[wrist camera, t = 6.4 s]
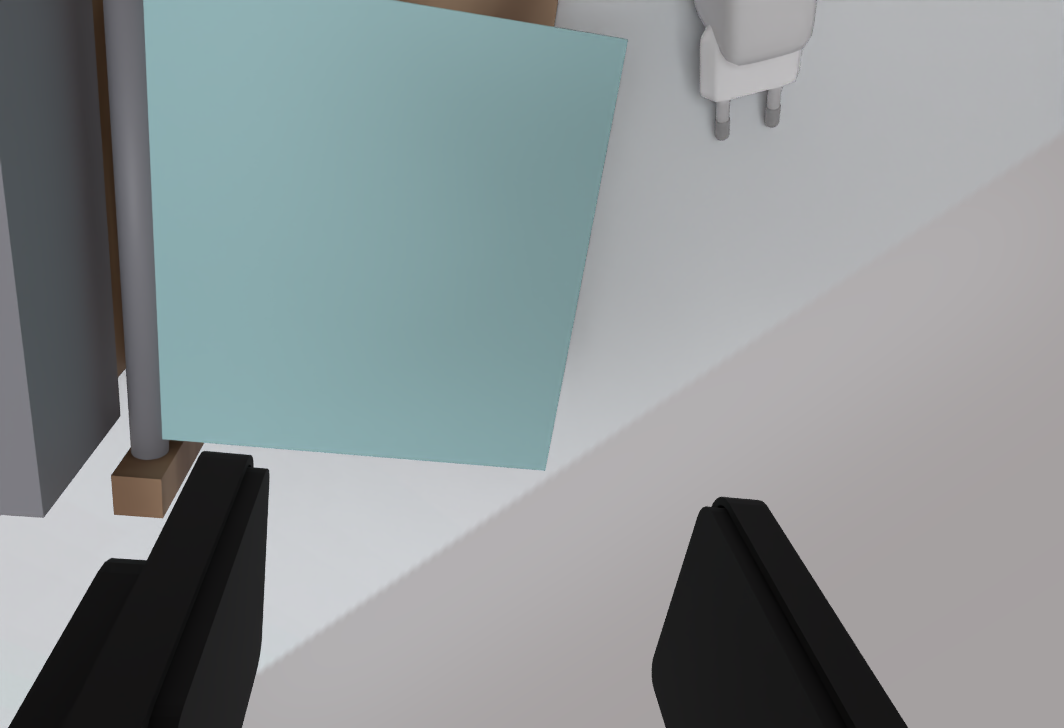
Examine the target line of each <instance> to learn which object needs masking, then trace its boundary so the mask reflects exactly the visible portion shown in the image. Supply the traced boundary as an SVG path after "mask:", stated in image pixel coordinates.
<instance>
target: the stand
mask: <svg viewBox="0 0 1064 728" xmlns="http://www.w3.org/2000/svg"><path fill="white" fill-rule="evenodd" d="M397 1H403V2H409V3H415V4H421V5H427V6H433V7H439V8H445V9H451V10H457V11H463V12H469V13H475V14H481V15H486V16H492V17H498V18H504V19H510V20H516V21H522V22H528V23H534V24H540V25H546V26H552V27H554V23H555V17H556V10H557V4H558V0H397ZM92 6H93V21H94V36H95V50H96V65H97V80H98V94H99V109H100V124H101V138H102V153H103V168H104V182H105V197H106V212H107V226H108V241H109V256H110V270H111V285H112V300H113V314H114V329H115V344H116V358H117V373H118V377H119V376H120V375H121V373H122V372H123V371H124V370H125V369H126V361H125V345H124V329H123V313H122V298H121V282H120V266H119V250H118V234H117V218H116V202H115V187H114V171H113V155H112V139H111V123H110V107H109V91H108V75H107V60H106V44H105V28H104V12H103V0H92ZM203 444H204V443H203V442H190V441H178V440H169V452H168V453H167V454H166V455H165V456H163V457H161V458H158V459H153V460H142V459H138V458H135V457H134V456H133V455H132V454H131V448H130V449H129V451H128V452H127V454H126V455H125V456H124V458H123V459H122V461H121V462H120V464H119V465H118V466H117V468H116V469H115V471H114V472H113V474H112V475H111V481H112V494H113V507H114V515H126V516H140V517H154V518H163V517H164V515H165V514H166V512H167V510H168V508H169V506H170V504H171V503H172V501H173V499H174V497H175V495H176V493H177V492H178V490H179V488H180V486H181V484H182V482H183V481H184V479H185V477H186V475H187V473H188V471H189V470H190V468H191V466H192V464H193V462H194V460H195V459H196V457H197V455H198V453H199V451H200V450H201V448H202V446H203Z"/></svg>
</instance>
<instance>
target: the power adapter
mask: <svg viewBox="0 0 1064 728" xmlns="http://www.w3.org/2000/svg"><path fill="white" fill-rule="evenodd" d="M694 4H695V7H696V11H697V13H698V15H699V17H700V19H701V21H702V23H703V25H704V26H705V30H704V32H703V34H702V37H701V39H700V95H701V97H704V98H706V99H709V100H712V101H714V102H716V119H715V137H716V138H717V139H718V140H721V141H723V140H726V139H727V138H728V137H729V131H730V117H729V112H730V101H731V99H735V98H739V97H743V96H746V95H750V94H754V93H758V92H762V91H766V90H768V96H767V104H766V113H765V124H766V126H768V127H770V128H773V127H776V126H777V125H778V124H779V120H780V109H781V104H780V102H781V92H782V88H783V86H785V85H787V84H790V83H792V82H794V81H796V79H797V76H798V74H799V72H800V64H801V55H802V49H803V48H804V46H805V45H806V44H807V42H808V41H809V39H810V38H811V36H812V31H813V26H814V20H815V12H816V5H817V0H694Z"/></svg>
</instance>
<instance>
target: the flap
mask: <svg viewBox="0 0 1064 728" xmlns="http://www.w3.org/2000/svg"><path fill="white" fill-rule="evenodd" d="M103 12H104V28H105V44H106V60H107V75H108V91H109V107H110V123H111V139H112V155H113V171H114V187H115V202H116V218H117V234H118V250H119V266H120V282H121V298H122V313H123V329H124V345H125V361H126V377H127V393H128V409H129V425H130V440H131V454H132V455H133V456H134V457H135V458H138V459H142V460H153V459H158V458H161V457H163V456H165V455H166V454H167V453H168V452H169V440H178V441H190V442H203V443H215V444H227V445H239V446H251V447H263V448H276V449H288V450H300V451H312V452H324V453H337V454H349V455H361V456H373V457H385V458H398V459H410V460H422V461H434V462H446V463H459V464H471V465H483V466H495V467H507V468H520V469H532V470H544V471H545V469H546V463H547V458H548V453H549V448H550V443H551V437H552V432H553V427H554V422H555V417H556V411H557V406H558V401H559V396H560V391H561V385H562V380H563V375H564V370H565V365H566V359H567V354H568V349H569V344H570V339H571V333H572V328H573V323H574V318H575V313H576V307H577V302H578V297H579V292H580V287H581V281H582V276H583V271H584V266H585V261H586V256H587V250H588V245H589V240H590V235H591V230H592V224H593V219H594V214H595V209H596V204H597V198H598V193H599V188H600V183H601V178H602V172H603V167H604V162H605V157H606V152H607V146H608V141H609V136H610V131H611V126H612V120H613V115H614V110H615V105H616V100H617V94H618V89H619V84H620V79H621V74H622V68H623V63H624V58H625V53H626V48H627V42H628V40H627V39H624V38H618V37H612V36H606V35H600V34H594V33H588V32H582V31H576V30H570V29H564V28H558V27H552V26H546V25H540V24H534V23H528V22H522V21H516V20H510V19H504V18H498V17H492V16H486V15H481V14H475V13H469V12H463V11H457V10H451V9H445V8H439V7H433V6H427V5H421V4H415V3H409V2H403V1H397V0H103ZM119 417H120V402H119V388H118V373H117V358H116V344H115V329H114V314H113V300H112V285H111V270H110V256H109V241H108V226H107V212H106V197H105V182H104V168H103V153H102V138H101V124H100V109H99V94H98V80H97V65H96V50H95V36H94V21H93V6H92V0H0V515H11V516H26V517H41V518H44V517H45V515H46V514H47V513H48V511H49V510H50V509H51V507H52V506H53V505H54V503H55V502H56V501H57V499H58V498H59V497H60V495H61V494H62V493H63V491H64V490H65V489H66V487H67V486H68V485H69V483H70V482H71V481H72V479H73V478H74V477H75V476H76V474H77V473H78V472H79V470H80V469H81V468H82V466H83V465H84V464H85V462H86V461H87V460H88V458H89V457H90V456H91V454H92V453H93V452H94V450H95V449H96V448H97V446H98V445H99V444H100V442H101V441H102V440H103V438H104V437H105V436H106V434H107V433H108V432H109V430H110V429H111V428H112V426H113V425H114V424H115V423H116V421H117V420H118V419H119Z"/></svg>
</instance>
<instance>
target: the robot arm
mask: <svg viewBox="0 0 1064 728" xmlns="http://www.w3.org/2000/svg"><path fill="white" fill-rule="evenodd" d="M268 497H269V470H268V469H264V468H253V457H252V455H244V454H232V453H221V452H210V451H203V452H202V453H201V454H200V456H199V457H198V459H197V461H196V463H195V465H194V467H193V469H192V471H191V473H190V475H189V477H188V479H187V481H186V483H185V485H184V487H183V489H182V491H181V493H180V495H179V497H178V499H177V501H176V503H175V505H174V507H173V509H172V511H171V513H170V515H169V517H168V519H167V521H166V523H165V525H164V527H163V529H162V531H161V533H160V535H159V537H158V539H157V541H156V543H155V545H154V547H153V549H152V551H151V553H150V555H149V557H148V559H147V560H132V559H117V558H111V559H109V560H108V561H106V562H105V563H104V564H103V566H102V567H101V568H100V570H99V571H98V573H97V574H96V576H95V578H94V580H93V581H92V583H91V585H90V587H89V588H88V590H87V592H86V593H85V595H84V597H83V599H82V600H81V602H80V604H79V606H78V607H77V609H76V611H75V613H74V614H73V616H72V618H71V620H70V621H69V623H68V625H67V626H66V628H65V630H64V632H63V633H62V635H61V637H60V639H59V640H58V642H57V644H56V646H55V647H54V649H53V651H52V653H51V654H50V656H49V658H48V659H47V661H46V663H45V665H44V666H43V668H42V670H41V672H40V673H39V675H38V677H37V679H36V680H35V682H34V684H33V686H32V687H31V689H30V691H29V693H28V694H27V696H26V698H25V699H24V701H23V703H22V705H21V706H20V708H19V710H18V712H17V713H16V715H15V717H14V719H13V720H12V722H11V724H10V726H9V727H8V728H242V725H243V721H244V717H245V713H246V709H247V706H248V702H249V698H250V694H251V691H252V687H253V683H254V679H255V675H256V671H257V667H258V662H259V657H260V650H261V642H262V624H263V603H264V582H265V561H266V539H267V518H268ZM652 682H653V687H654V691H655V694H656V698H657V701H658V704H659V707H660V710H661V714H662V717H663V720H664V723H665V727H666V728H908V727H907V725H906V724H905V722H904V721H903V719H902V718H901V716H900V714H899V713H898V711H897V710H896V708H895V706H894V705H893V703H892V702H891V700H890V699H889V697H888V695H887V694H886V692H885V691H884V689H883V688H882V686H881V685H880V683H879V681H878V680H877V678H876V677H875V675H874V674H873V672H872V670H871V669H870V667H869V666H868V664H867V663H866V661H865V659H864V658H863V656H862V655H861V653H860V651H859V650H858V648H857V647H856V645H855V644H854V642H853V640H852V639H851V637H850V636H849V634H848V633H847V631H846V630H845V628H844V626H843V625H842V623H841V622H840V620H839V618H838V617H837V615H836V614H835V612H834V610H833V609H832V607H831V606H830V604H829V603H828V601H827V600H826V598H825V596H824V595H823V593H822V592H821V590H820V589H819V587H818V585H817V584H816V582H815V581H814V579H813V578H812V576H811V574H810V573H809V571H808V570H807V568H806V566H805V565H804V563H803V562H802V560H801V559H800V557H799V555H798V554H797V552H796V551H795V549H794V548H793V546H792V544H791V543H790V541H789V540H788V538H787V537H786V535H785V533H784V532H783V530H782V529H781V527H780V525H779V524H778V522H777V521H776V519H775V518H774V516H773V515H772V513H771V511H770V510H769V508H768V507H767V505H766V504H765V503H764V502H763V501H759V500H752V499H739V498H729V497H719V498H717V499H716V500H715V502H714V503H713V505H712V507H703V508H702V509H701V510H700V512H699V514H698V517H697V520H696V524H695V526H694V530H693V533H692V536H691V539H690V542H689V546H688V549H687V552H686V555H685V559H684V561H683V565H682V568H681V571H680V574H679V578H678V581H677V584H676V587H675V590H674V594H673V597H672V600H671V603H670V606H669V609H668V612H667V616H666V619H665V622H664V625H663V628H662V632H661V635H660V638H659V641H658V645H657V647H656V651H655V654H654V657H653V662H652Z"/></svg>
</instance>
